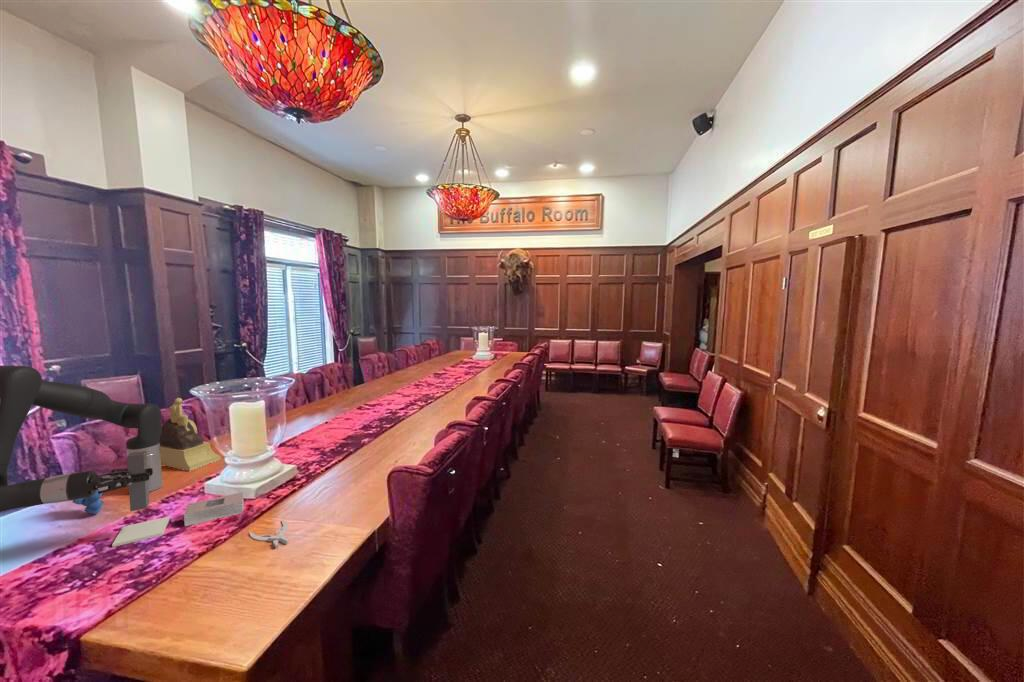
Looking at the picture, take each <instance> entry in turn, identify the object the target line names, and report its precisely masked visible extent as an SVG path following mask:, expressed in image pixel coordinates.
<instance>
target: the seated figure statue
mask: <svg viewBox="0 0 1024 682" xmlns="http://www.w3.org/2000/svg"><path fill="white" fill-rule="evenodd" d="M182 402H183V399H182V398H181V397H177V398H175V399H174V402H173V404H172V405H171V407H170V411H169V413H170V414H169V415H170V418H168V419H167V420H165V421H164V423H163V424H162V433H161V436H160V452H161V465H165V466H170V467H174V468H173V469H175V468H179V469H178V470H180V469H184V470H183V471H185V470H188V471H187V472H192V471H191V470H193V471H195V470H194V469H196V470H198V469H200V468H199V467H201V468H203V467H202V466H204V467H206V466H205V465H207V464H209V463H212V464H214V463H213V462H215V463H217V462H216V461H218V460H220V459H221V460H222V456H221V455H219V454H217V453H216V452H215V451H213V449H212V448H211V443H210V442H207V441H203V439H202V437H201V436H199V435H198V428H197V425H196V423H195V422H194V421H193V420H192V419H189V416H188V415H187V414H183V406H182ZM218 462H219V461H218ZM165 466H164V467H165ZM207 466H208V465H207ZM170 467H169V468H170ZM197 468H198V469H197Z"/></svg>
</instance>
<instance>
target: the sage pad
mask: <svg viewBox="0 0 1024 682" xmlns="http://www.w3.org/2000/svg"><path fill="white" fill-rule="evenodd" d="M169 522H170V516H165V517H161V518H156V519H152V520H147V521H143V522H139V523H133V524H128V525H125V526H122V528H121V529H120V531H119V532H118V535H117V536H116V538H115V539H114V541H113V542H112V545H111V546H112V548H113V547H114V548H115V547H119V546H123V545H127V544H132V543H135V542H136V543H137V542H140V541H143V540H148V539H151V538H157V537H160V536H161V537H162V536H164V533H165V531H166V529H167V527H168V524H169Z"/></svg>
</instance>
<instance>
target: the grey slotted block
mask: <svg viewBox="0 0 1024 682" xmlns="http://www.w3.org/2000/svg"><path fill="white" fill-rule="evenodd" d="M244 504H245V502H244V492H237V493H233V494H229V495H223V496H219V497H214V498H213V497H212V498H208V499H204V500H200V501H199V500H198V501H195V502H190V503H187V505H186V507H185V510H184V513H183V518H184V520H183V521H184V527H189V526H193V525H197V524H201V523H205V522H209V521H213V519H214V520H217V518H219V519H222V517H223V518H226V517H231V516H234V515H240V514H243V512H244Z"/></svg>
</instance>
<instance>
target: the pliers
mask: <svg viewBox="0 0 1024 682" xmlns="http://www.w3.org/2000/svg"><path fill="white" fill-rule="evenodd" d="M280 522H281V524H282V527H281V528H279V529H277V530H276V532H275V534H274V535H272V534H263V535H256V534H255V533H253V532H252V531H249V532H248V533H249V536H250V538H251V539H253V540H255V541H259V542H272V546H273V547H274V548H275V549H276V550H277V549H279V543H282V544H284V545H286V546H287V545H289V544H290V540H289V539H288V538H287V537H286V536H285V534H286V533H287V531H288V523H287V521H285V519H282V520H281V521H280Z"/></svg>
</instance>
